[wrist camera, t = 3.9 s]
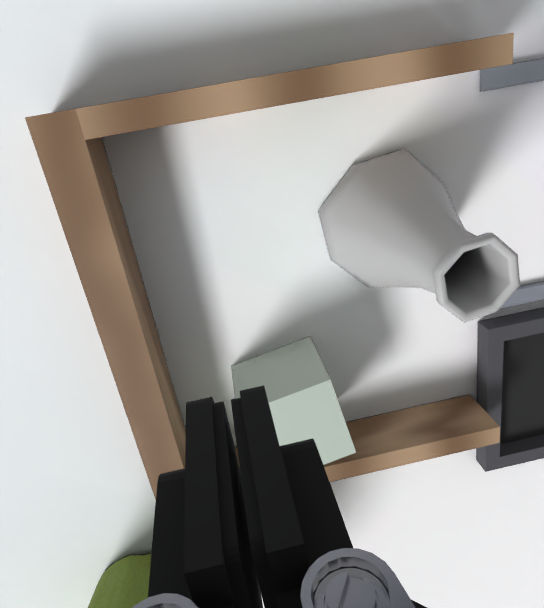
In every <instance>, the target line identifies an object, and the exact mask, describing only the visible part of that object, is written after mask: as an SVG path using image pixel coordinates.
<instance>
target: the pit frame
mask: <svg viewBox="0 0 544 608" xmlns="http://www.w3.org/2000/svg"><path fill="white" fill-rule="evenodd" d="M477 403H478V404H479V405H480V406H481V407H482V408H483V409H484V410H485V411H486V412H487V413H488V414H489V416H490V417H491V418H492V419H493V420H494V421H495V422H496V423H497V424H498V425H499V426H500V443H496V444H492V445H488V446H483V447H479V448H476V460H477V461H478V463H479V464H480V465H481V466H482V468H483V469H484V470H485V472H486V471H490V470H495V469H499V468H503V467H507V466H512V465H516V464H520V463H524V462H529V461H533V460H537V459H541V458H544V308H539V309H535V310H530V311H525V312H521V313H516V314H511V315H506V316H502V317H497V318H492V319H488V320H483V321H478V352H477Z"/></svg>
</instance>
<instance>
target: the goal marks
mask: <svg viewBox="0 0 544 608" xmlns="http://www.w3.org/2000/svg"><path fill="white" fill-rule="evenodd" d="M543 80H544V59H538V60H532V61H527V62H521V63H515V64H510V65H504V66H499V67H493V68H487V69H482V70H480V91H487V90H493V89H498V88H504V87H510V86H515V85H521V84H526V83H532V82H537V81H543ZM543 299H544V281H543V282H538V283H533V284H528V285H524V286H519V288H518V289H517V290H516V291H515V292H514V293H513V294H512V295H511V296H510V297H509V299H508V300H507V301H506V302H505V303H504V304H503V305H502V306H501V307H500V308H499V309H501V308H505V307H510V306H515V305H519V304H524V303H529V302H533V301H538V300H543Z"/></svg>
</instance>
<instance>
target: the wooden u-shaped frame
mask: <svg viewBox="0 0 544 608" xmlns="http://www.w3.org/2000/svg"><path fill="white" fill-rule="evenodd" d="M513 36H514V33H509V34H503V35H498V36H492V37H486V38H480V39H475V40H469V41H463V42H457V43H452V44H446V45H440V46H434V47H428V48H423V49H417V50H411V51H405V52H400V53H394V54H388V55H382V56H377V57H371V58H365V59H359V60H354V61H348V62H342V63H336V64H331V65H325V66H319V67H313V68H308V69H302V70H296V71H290V72H285V73H279V74H273V75H267V76H262V77H256V78H250V79H244V80H239V81H233V82H227V83H221V84H215V85H210V86H204V87H198V88H192V89H187V90H181V91H175V92H169V93H164V94H158V95H152V96H146V97H141V98H135V99H129V100H123V101H118V102H112V103H106V104H100V105H95V106H89V107H83V108H77V109H72V110H66V111H60V112H54V113H49V114H43V115H37V116H31V117H26V118H25V119H26V122H27V125H28V128H29V131H30V134H31V137H32V140H33V143H34V145H35V148H36V151H37V154H38V157H39V160H40V163H41V166H42V169H43V172H44V175H45V178H46V181H47V183H48V186H49V189H50V192H51V195H52V198H53V201H54V204H55V207H56V210H57V213H58V216H59V219H60V221H61V224H62V227H63V230H64V233H65V236H66V239H67V242H68V245H69V248H70V251H71V254H72V257H73V259H74V262H75V265H76V268H77V271H78V274H79V277H80V280H81V283H82V286H83V289H84V292H85V295H86V297H87V300H88V303H89V306H90V309H91V312H92V315H93V318H94V321H95V324H96V327H97V330H98V333H99V335H100V338H101V341H102V344H103V347H104V350H105V353H106V356H107V359H108V362H109V365H110V368H111V371H112V373H113V376H114V379H115V382H116V385H117V388H118V391H119V394H120V397H121V400H122V403H123V406H124V409H125V411H126V414H127V417H128V420H129V423H130V426H131V429H132V432H133V435H134V438H135V441H136V444H137V447H138V449H139V452H140V455H141V458H142V461H143V464H144V467H145V470H146V473H147V476H148V479H149V482H150V485H151V487H152V490H153V493H154V496H155V499H156V493H157V482H158V477H159V475H160V474H162V473H166V472H171V471H175V470H179V469H184V468H185V443H186V430H185V426H184V423H183V419H182V416H181V412H180V409H179V405H178V402H177V399H176V395H175V392H174V388H173V385H172V381H171V378H170V374H169V371H168V367H167V364H166V360H165V357H164V353H163V350H162V346H161V343H160V339H159V336H158V332H157V329H156V325H155V322H154V318H153V315H152V311H151V308H150V304H149V301H148V298H147V294H146V291H145V287H144V284H143V280H142V277H141V273H140V270H139V266H138V263H137V259H136V256H135V252H134V249H133V245H132V242H131V238H130V235H129V231H128V228H127V224H126V221H125V217H124V214H123V210H122V207H121V203H120V200H119V197H118V193H117V190H116V186H115V183H114V179H113V176H112V172H111V169H110V165H109V162H108V158H107V155H106V151H105V148H104V144H103V141H102V137H105V136H110V135H116V134H122V133H127V132H133V131H138V130H144V129H150V128H155V127H161V126H166V125H172V124H178V123H183V122H189V121H195V120H200V119H206V118H211V117H217V116H223V115H228V114H234V113H239V112H245V111H251V110H256V109H262V108H268V107H273V106H279V105H284V104H290V103H296V102H301V101H307V100H312V99H318V98H324V97H329V96H335V95H341V94H346V93H352V92H357V91H363V90H369V89H374V88H380V87H385V86H391V85H397V84H402V83H408V82H414V81H419V80H425V79H430V78H436V77H442V76H447V75H453V74H458V73H464V72H470V71H475V70H481V69H487V68H492V67H498V66H503V65H509V64H513ZM346 425H347V428H348V431H349V434H350V436H351V439H352V442H353V445H354V448H355V451H356V453H354V454H351V455H348V456H346V457H343V458H340V459H338V460H335V461H332V462H330V463H327V464H324V468H325V471H326V474H327V476H328V479H329V482H332V481H337V480H341V479H345V478H350V477H354V476H358V475H363V474H367V473H371V472H375V471H380V470H384V469H388V468H393V467H397V466H401V465H406V464H410V463H414V462H419V461H423V460H427V459H432V458H436V457H440V456H445V455H449V454H453V453H458V452H462V451H466V450H471V449H475V448H479V447H483V446H488V445H492V444H496V443H500V426H499V425H498V424H497V423H496V422H495V421H494V420H493V419H492V418H491V417H490V416H489V414H488V413H487V412H486V411H485V410H484V409H483V408H482V407H481V406H480V405H479V404H478V403H477V402H476V401H475V399H474V398H473V397H472V396H471V395H466V396H461V397H457V398H452V399H448V400H443V401H439V402H434V403H430V404H425V405H421V406H416V407H412V408H407V409H403V410H399V411H394V412H390V413H385V414H381V415H376V416H372V417H367V418H363V419H358V420H354V421H349V422H346ZM235 451H236V455H237V459H238V463H239V457H238V450H237V447H235ZM239 467H240V465H239Z"/></svg>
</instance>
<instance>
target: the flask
mask: <svg viewBox="0 0 544 608" xmlns="http://www.w3.org/2000/svg"><path fill="white" fill-rule="evenodd" d="M318 213H319V217H320V221H321V225H322V229H323V233H324V237H325V241H326V245H327V249H328V253H329V256H330V260H331V261H333V262H334V263H335V264H337V265H338V266H340V267H341V268H342V269H344V270H345V271H347V272H348V273H349V274H351V275H352V276H354V277H355V278H356V279H358V280H359V281H361V282H362V283H363V284H365V285H366V286H367V287H411V288H422V289H425V290H428V291H430V292H433V293H436V298H437V301H438V303H439V304H440V305H441V306H443V307H444V308H445V309H447V310H448V311H449V312H451V313H452V314H453V315H455V316H456V317H457V318H459V319H460V320H461V321H463V322H467V321H471V320H474V319H477V318H480V317H483V316H486V315H489V314H492V313H495V312H497V311H498V309H499V308H500V307H501V306H502V305H503V304H504V303H505V302H506V301H507V300H508V299H509V297H510V296H511V295H512V294H513V293H514V292H515V291H516V290H517V289H518V288H519V286H520V279H519V267H518V255H517V254H516V253H515V252H514V251H513V250H512V249H511V248H509V247H508V246H507V245H506V244H505V243H504V242H503V241H501V240H500V239H499V238H498V237H497V236H496V235H494V234H493V233H485V234H482V235H479V236H476V235H474V234H472V233H470V232H468V231H467V230H466V229H465V228H464V226H463V224H462V223H461V221H460V219H459V217H458V215H457V213H456V211H455V209H454V207H453V205H452V203H451V201H450V198H449V196H448V193H447V191H446V189H445V186H444V185H443V183H442V181H441V180H440V179H439V178H437V177H436V176H435V175H434V174H433V173H432V172H431V171H429V170H428V169H427V168H426V167H425V166H424V165H423V164H421V163H420V162H419V161H418V160H417V159H416V158H415V157H413V156H412V155H411V154H410V153H409V152H408V151H407V150H405V149H401V150H398V151H395V152H392V153H389V154H386V155H383V156H380V157H377V158H374V159H370V160H367V161H364V162H361V163H358V164H355V165H352V166H351V167H350V169H349V170H348V171H347V173H346V174H345V175H344V177H343V178H342V179H341V181H340V182H339V183H338V185H337V186H336V187H335V189H334V190H333V191H332V193H331V194H330V195H329V197H328V198H327V199H326V201H325V202H324V203H323V205H322V206H321V207H320V209H319V210H318Z"/></svg>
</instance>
